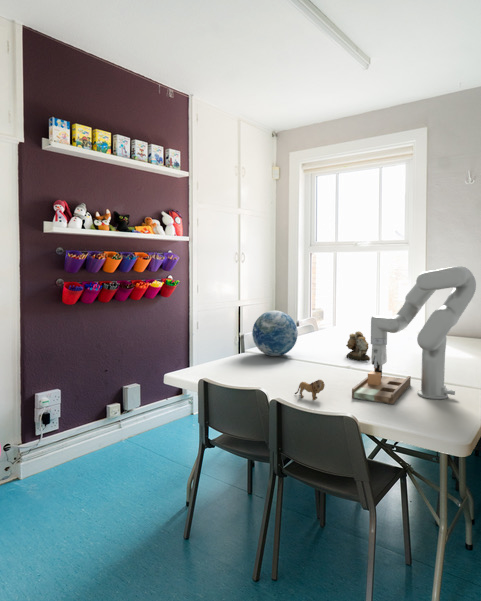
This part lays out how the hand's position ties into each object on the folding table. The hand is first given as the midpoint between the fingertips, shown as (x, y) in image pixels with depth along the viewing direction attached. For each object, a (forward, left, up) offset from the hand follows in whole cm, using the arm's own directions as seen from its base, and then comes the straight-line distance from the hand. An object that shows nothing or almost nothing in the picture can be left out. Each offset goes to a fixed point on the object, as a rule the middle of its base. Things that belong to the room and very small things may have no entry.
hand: (378, 378), depth 212 cm
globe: (+78, -39, -5) cm, 88 cm away
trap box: (-4, +7, -4) cm, 9 cm away
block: (0, +5, -1) cm, 5 cm away
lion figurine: (+22, +31, -5) cm, 38 cm away
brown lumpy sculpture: (+29, -58, -5) cm, 65 cm away
